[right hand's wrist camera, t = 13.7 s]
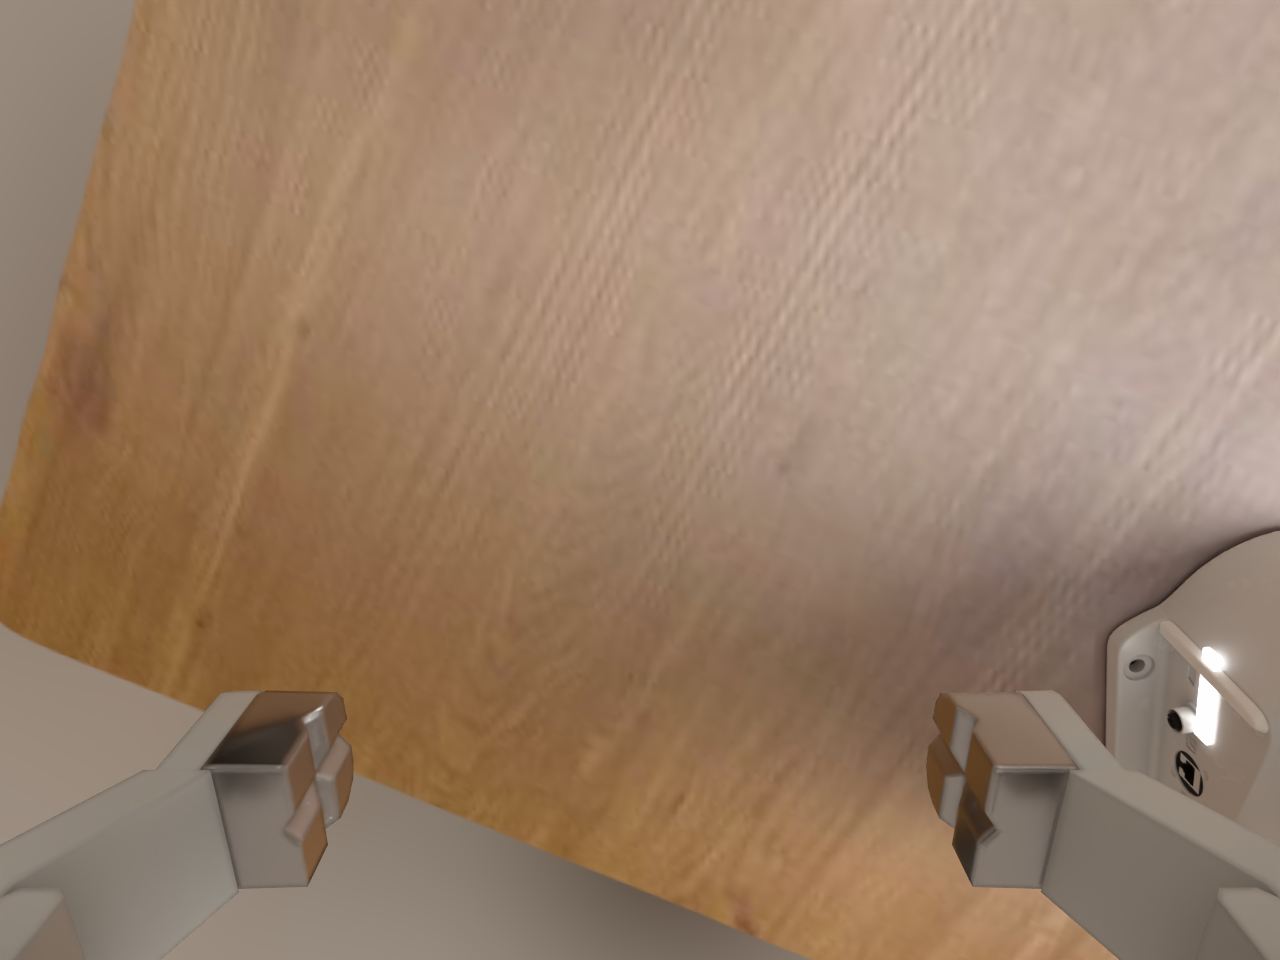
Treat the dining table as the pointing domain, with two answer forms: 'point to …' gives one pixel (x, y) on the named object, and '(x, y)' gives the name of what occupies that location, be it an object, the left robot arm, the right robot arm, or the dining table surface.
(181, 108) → the dining table surface
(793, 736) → the dining table surface
